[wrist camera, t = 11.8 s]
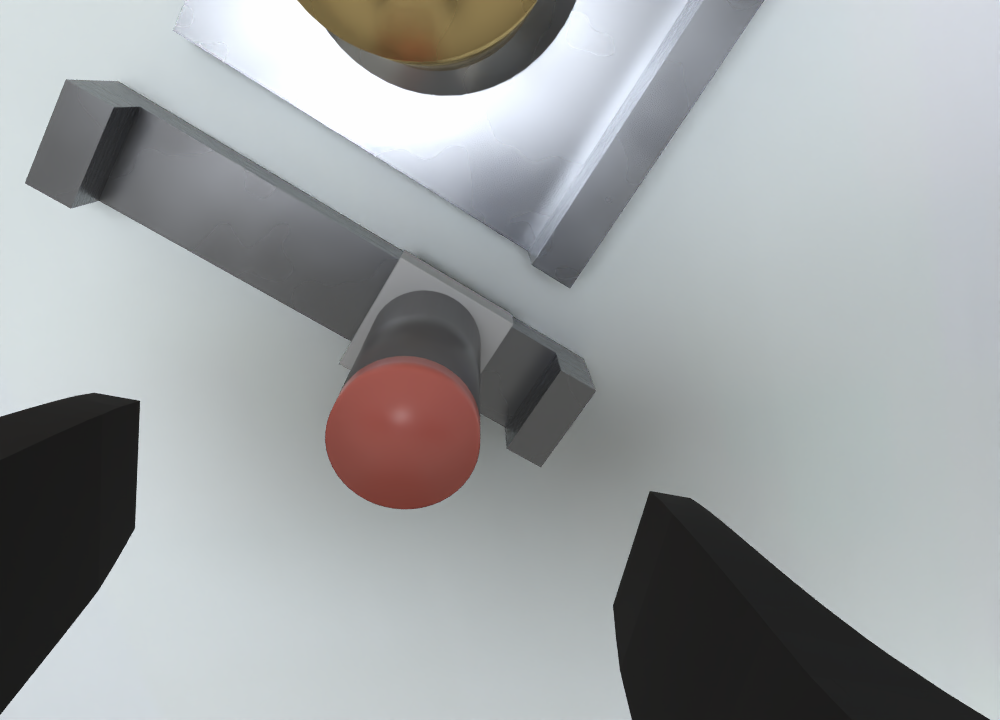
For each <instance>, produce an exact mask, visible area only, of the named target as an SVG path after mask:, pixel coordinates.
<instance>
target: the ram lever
mask: <svg viewBox="0 0 1000 720" xmlns="http://www.w3.org/2000/svg"><path fill="white" fill-rule="evenodd" d="M512 325H513V318H512V314H511V313H509V312H507V311H506V310H504V309H502V308H501V307H499V306H497V305H496V304H494V303H492V302H491V301H489V300H487V299H486V298H484V297H482V296H481V295H479V294H477V293H476V292H474V291H472V290H471V289H469V288H467V287H466V286H464V285H462V284H461V283H459V282H457V281H455V280H454V279H452V278H450V277H449V276H447V275H445V274H444V273H442V272H440V271H439V270H437V269H435V268H434V267H432V266H430V265H429V264H427V263H425V262H424V261H422V260H420V259H419V258H417V257H415V256H414V255H412V254H410V253H409V252H407V251H405V250H404V252H403V254H402V255H401V257H400V259H399V260H398V262H397V264H396V266H395V267H394V269H393V271H392V272H391V274H390V276H389V278H388V279H387V281H386V283H385V284H384V286H383V288H382V290H381V291H380V293H379V295H378V296H377V298H376V300H375V301H374V303H373V305H372V307H371V308H370V310H369V312H368V313H367V315H366V317H365V319H364V320H363V322H362V324H361V325H360V327H359V329H358V331H357V332H356V334H355V336H354V337H353V339H352V341H351V343H350V344H349V346H348V348H347V349H346V351H345V353H344V355H343V357H342V358H341V360H340V362H339V364H340V365H342V366H344V367H346V368H347V369H349V370H351V371H350V373H349V375H348V377H347V379H346V381H345V383H344V385H343V387H342V389H341V392H340V394H339V396H338V398H337V400H336V402H335V404H334V406H333V408H332V410H331V412H330V415H329V418H328V421H327V425H326V431H325V443H326V450H327V454H328V457H329V460H330V462H331V465H332V467H333V469H334V470H335V472H336V474H337V475H338V477H339V478H340V479H341V480H342V482H343V483H344V484H345V485H346V486H347V487H348V488H349V489H351V490H352V491H353V492H355V493H356V494H357V495H359V496H360V497H362V498H364V499H366V500H368V501H370V502H372V503H374V504H377V505H381V506H384V507H389V508H394V509H416V508H422V507H426V506H430V505H433V504H436V503H438V502H440V501H442V500H444V499H446V498H448V497H449V496H451V495H452V494H454V493H455V492H456V491H457V490H458V489H459V488H461V487H462V486H463V485H464V483H465V482H466V481H467V480H468V478H469V477H470V475H471V473H472V472H473V470H474V468H475V465H476V463H477V459H478V455H479V449H480V374H481V373H482V371H483V369H484V368H485V366H486V365H487V363H488V362H489V360H490V359H491V357H492V356H493V354H494V353H495V351H496V350H497V348H498V347H499V345H500V344H501V342H502V341H503V339H504V338H505V336H506V335H507V333H508V331H509V330H510V328H511V327H512Z"/></svg>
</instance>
